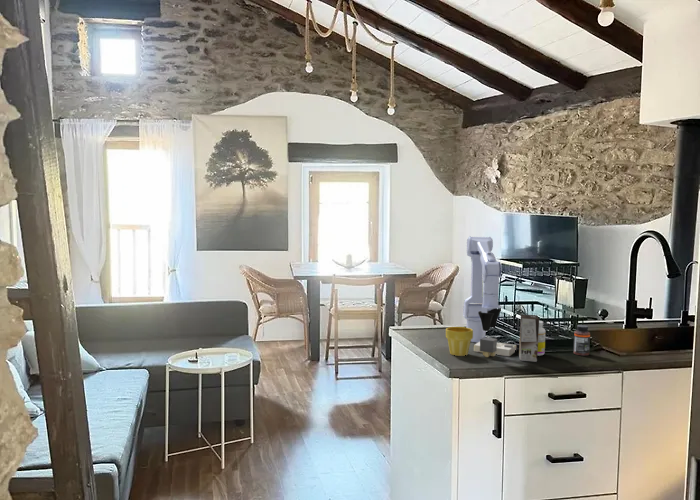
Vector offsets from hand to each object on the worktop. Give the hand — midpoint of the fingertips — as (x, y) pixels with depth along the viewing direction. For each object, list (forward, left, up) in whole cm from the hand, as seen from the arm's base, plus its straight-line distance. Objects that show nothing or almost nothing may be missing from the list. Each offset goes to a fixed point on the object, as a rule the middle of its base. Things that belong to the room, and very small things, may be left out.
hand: (489, 329), depth 253 cm
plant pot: (+4, -10, -11) cm, 15 cm away
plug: (0, 0, -10) cm, 10 cm away
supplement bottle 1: (-14, +15, -11) cm, 23 cm away
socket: (-9, 0, -10) cm, 14 cm away
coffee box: (-5, +14, -11) cm, 18 cm away
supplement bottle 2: (-24, +30, -11) cm, 40 cm away
